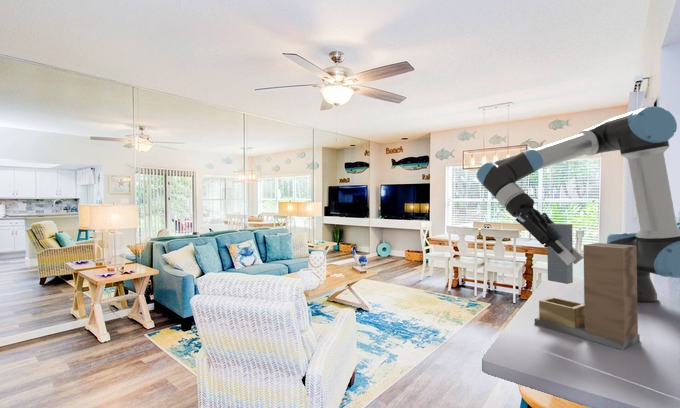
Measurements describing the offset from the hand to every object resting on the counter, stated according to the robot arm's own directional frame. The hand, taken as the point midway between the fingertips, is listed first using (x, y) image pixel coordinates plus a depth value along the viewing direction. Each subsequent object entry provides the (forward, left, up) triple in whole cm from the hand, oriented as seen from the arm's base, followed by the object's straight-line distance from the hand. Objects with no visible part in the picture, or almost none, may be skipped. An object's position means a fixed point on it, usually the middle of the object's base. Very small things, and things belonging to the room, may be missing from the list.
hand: (575, 261), depth 89 cm
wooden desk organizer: (-1, +1, -19) cm, 19 cm away
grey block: (+1, -4, -6) cm, 7 cm away
